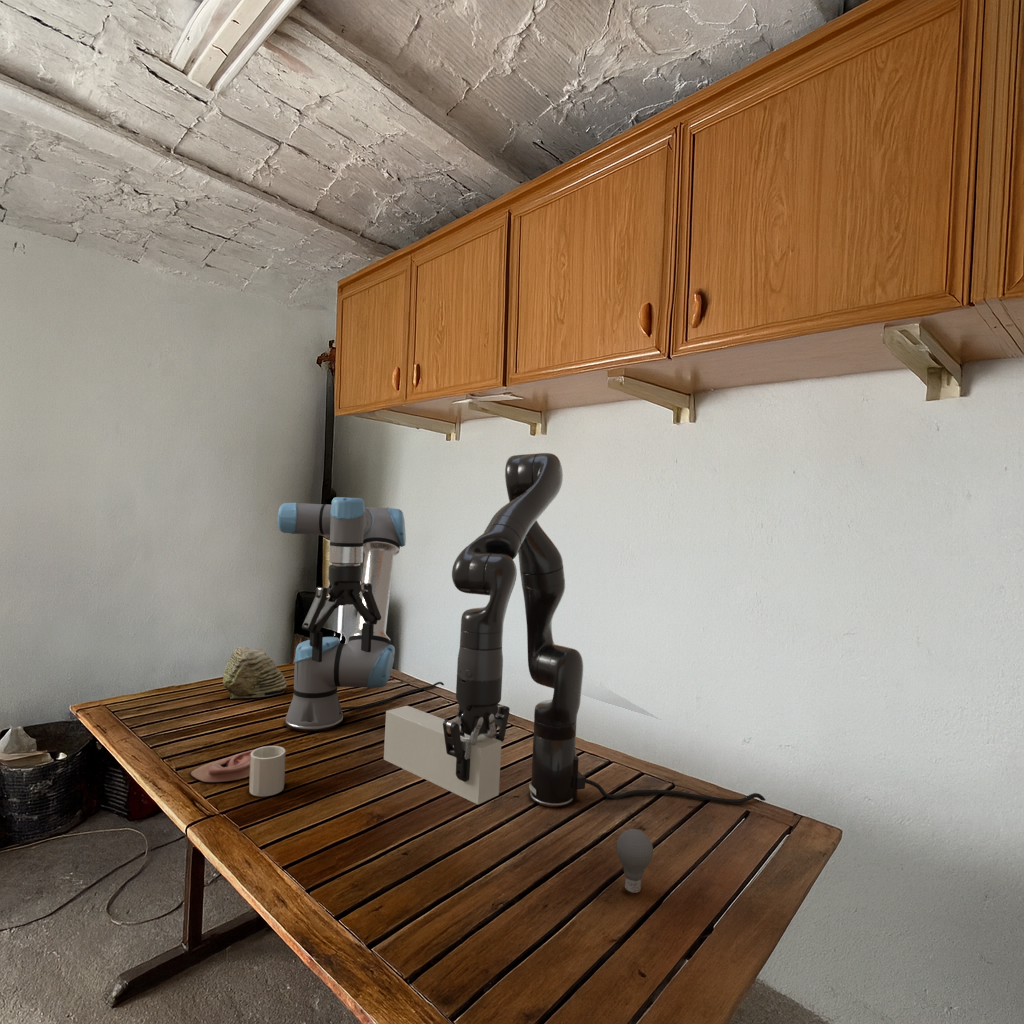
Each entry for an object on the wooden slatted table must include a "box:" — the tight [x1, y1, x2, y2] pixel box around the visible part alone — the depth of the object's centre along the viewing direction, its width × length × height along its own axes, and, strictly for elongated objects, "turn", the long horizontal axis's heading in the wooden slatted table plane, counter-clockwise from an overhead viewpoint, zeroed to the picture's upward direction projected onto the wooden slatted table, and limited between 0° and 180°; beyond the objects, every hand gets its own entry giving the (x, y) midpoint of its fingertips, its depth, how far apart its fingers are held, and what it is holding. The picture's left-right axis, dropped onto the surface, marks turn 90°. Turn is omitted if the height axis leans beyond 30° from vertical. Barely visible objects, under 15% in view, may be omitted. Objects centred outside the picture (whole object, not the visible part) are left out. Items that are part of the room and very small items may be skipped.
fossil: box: [222, 646, 288, 699], centre depth 198 cm, size 9×18×15 cm, turn 132°
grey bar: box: [383, 705, 503, 805], centre depth 111 cm, size 24×5×9 cm, turn 50°
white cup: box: [248, 745, 287, 797], centre depth 136 cm, size 7×7×8 cm
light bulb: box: [615, 828, 654, 894], centre depth 106 cm, size 6×6×10 cm
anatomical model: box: [190, 749, 254, 783], centre depth 143 cm, size 13×4×12 cm
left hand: (342, 656), depth 146 cm, fingers open, 13 cm apart
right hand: (474, 774), depth 105 cm, fingers closed on grey bar, 5 cm apart
